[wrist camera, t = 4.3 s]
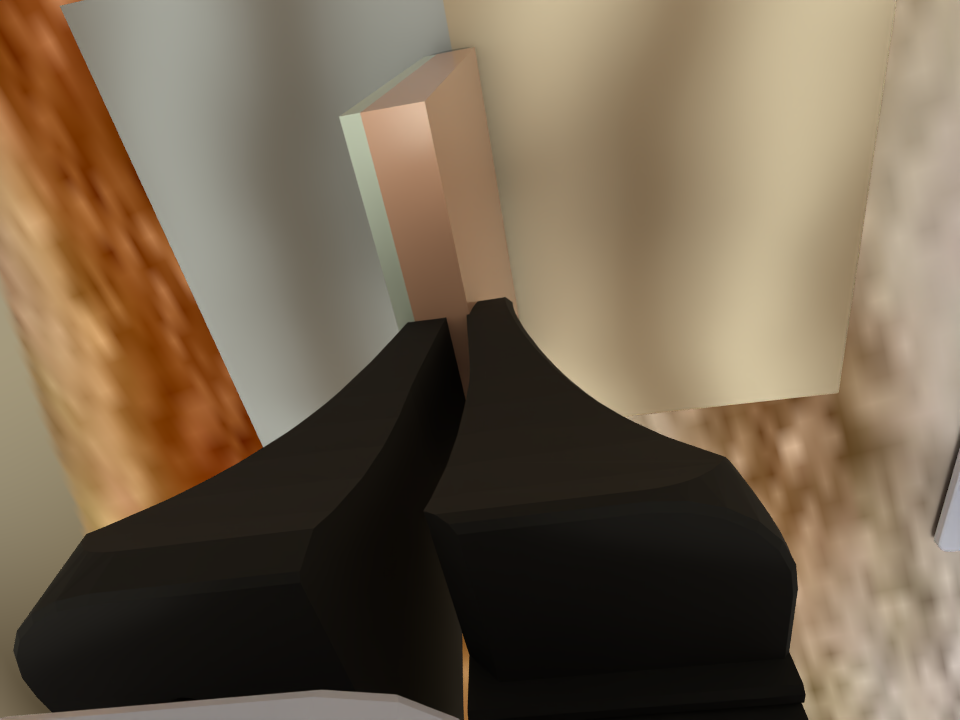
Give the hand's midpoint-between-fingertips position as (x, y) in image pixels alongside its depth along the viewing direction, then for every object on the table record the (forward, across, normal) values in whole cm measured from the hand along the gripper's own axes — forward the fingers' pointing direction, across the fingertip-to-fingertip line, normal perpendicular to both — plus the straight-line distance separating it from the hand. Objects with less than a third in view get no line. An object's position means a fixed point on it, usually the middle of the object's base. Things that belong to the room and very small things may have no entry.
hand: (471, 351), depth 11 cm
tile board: (+8, -1, 0) cm, 8 cm away
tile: (+3, 0, 0) cm, 3 cm away
